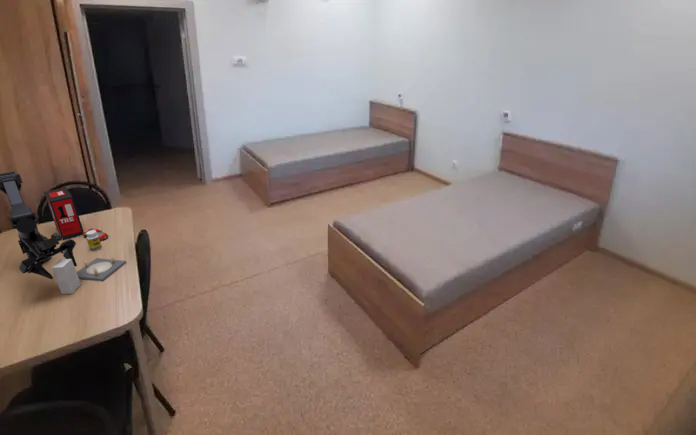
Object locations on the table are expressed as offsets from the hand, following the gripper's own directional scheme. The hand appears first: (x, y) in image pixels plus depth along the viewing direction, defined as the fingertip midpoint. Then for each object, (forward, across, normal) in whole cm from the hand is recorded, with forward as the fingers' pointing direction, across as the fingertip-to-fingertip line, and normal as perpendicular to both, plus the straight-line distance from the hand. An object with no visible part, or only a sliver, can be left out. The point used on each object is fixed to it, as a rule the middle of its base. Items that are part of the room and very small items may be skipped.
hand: (64, 272), depth 149 cm
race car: (-15, +34, +27) cm, 46 cm away
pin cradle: (+4, +14, +7) cm, 16 cm away
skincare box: (+6, 0, +6) cm, 8 cm away
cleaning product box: (-28, +34, +39) cm, 59 cm away
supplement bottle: (-8, +26, +20) cm, 34 cm away
